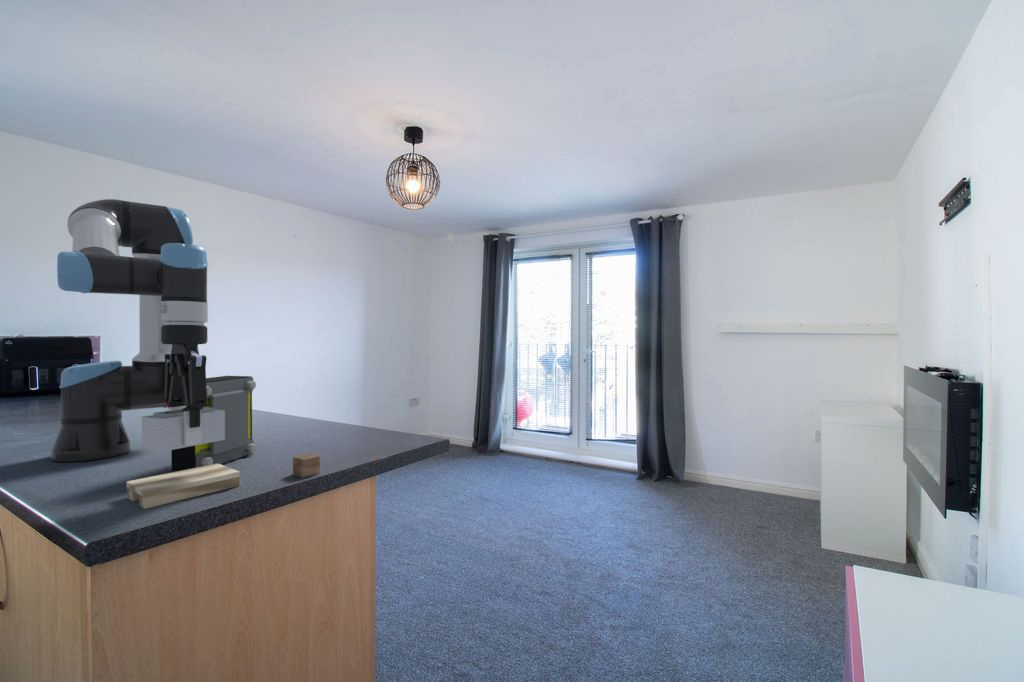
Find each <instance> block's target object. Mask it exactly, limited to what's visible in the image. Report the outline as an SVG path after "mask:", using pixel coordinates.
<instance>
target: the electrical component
mask: <svg viewBox="0 0 1024 682" xmlns="http://www.w3.org/2000/svg"><path fill="white" fill-rule="evenodd" d="M256 386H257V383H256V381H255V380H254V377H253V376H251V375H250V376H249V375H247V376H246V375H221V376H214V377H213V376H212V377H206V391H207V407H210V408H214V409H218V410H225V440H221V441H216V442H210V443H205V444H200V445H195V446H189V447H184V448H179V449H174V450H170V452H171V453H170V454H171V459H170V461H171V465H170V466H171V472H177V471H182V470H187V469H192V468H197V467H202V466H207V465H212V464H217V463H219V464H221V465H223V464H225V463H227V462H230V461H233V460H237V459H240V458H242V457H246V456H249V455H252V454H253V453H254V452H256V450H257V445H256V444H255V443H254V439H253V392H254V389H255V388H256ZM184 401H185V400H184ZM166 405H167V408H168V409H169V406H168V403H166ZM182 406H186V405H182Z"/></svg>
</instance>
